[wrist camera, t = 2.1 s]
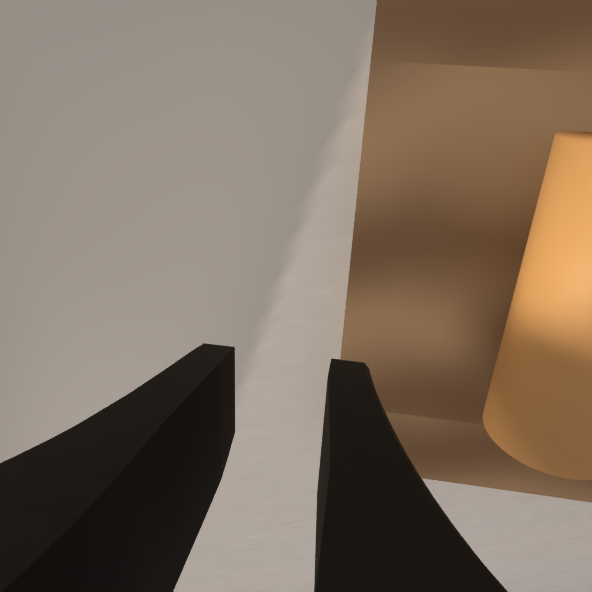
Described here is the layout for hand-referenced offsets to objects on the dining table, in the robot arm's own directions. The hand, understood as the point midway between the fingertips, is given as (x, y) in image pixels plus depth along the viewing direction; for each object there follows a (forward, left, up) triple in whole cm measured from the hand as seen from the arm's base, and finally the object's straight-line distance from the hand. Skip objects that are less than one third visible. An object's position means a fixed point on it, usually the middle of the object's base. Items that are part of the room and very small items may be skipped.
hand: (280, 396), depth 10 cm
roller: (0, -8, -6) cm, 10 cm away
